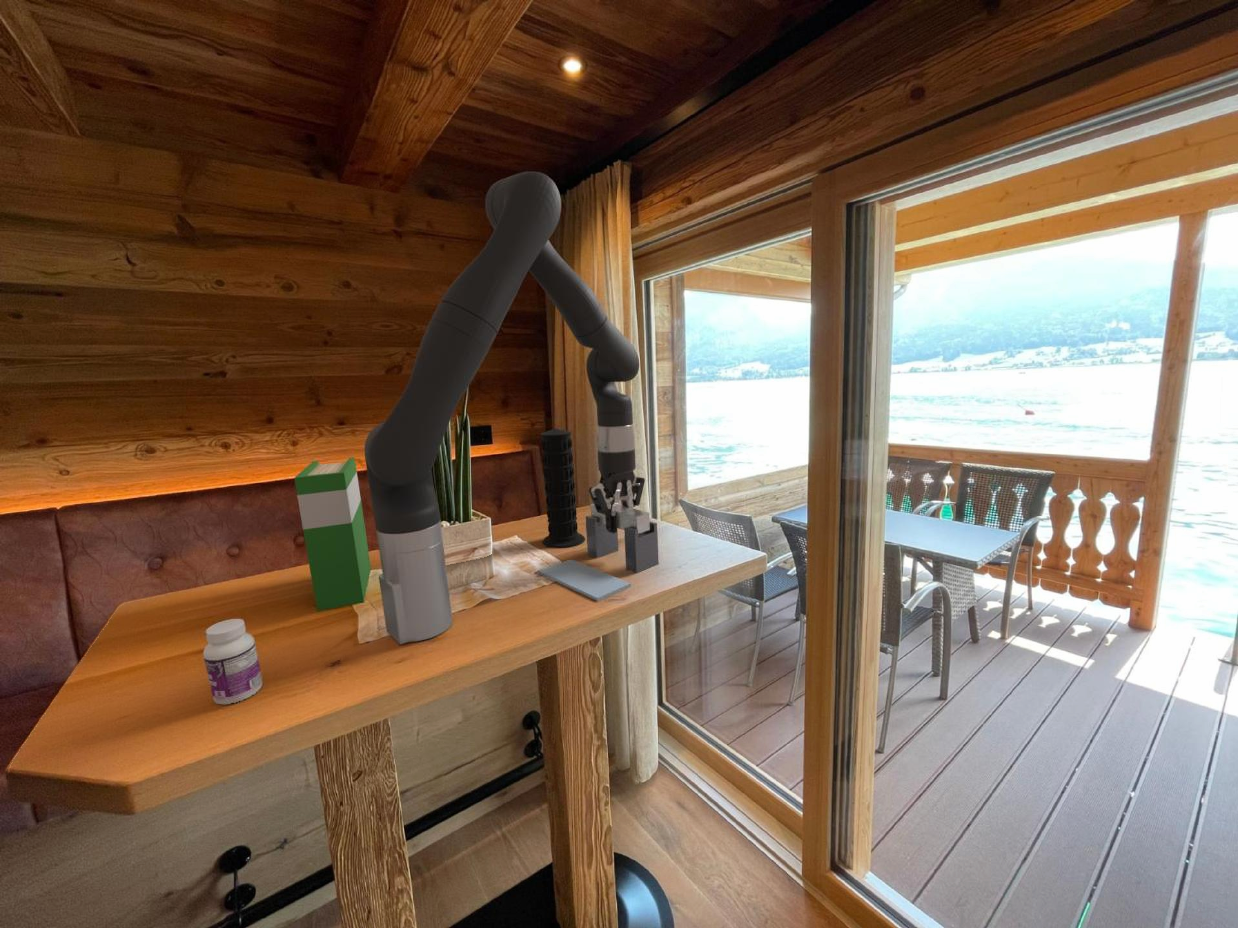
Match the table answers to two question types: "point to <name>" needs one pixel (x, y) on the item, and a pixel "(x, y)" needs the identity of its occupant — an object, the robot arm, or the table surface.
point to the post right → (641, 548)
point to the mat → (585, 579)
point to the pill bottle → (231, 662)
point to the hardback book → (334, 533)
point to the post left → (599, 538)
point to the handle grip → (560, 490)
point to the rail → (626, 518)
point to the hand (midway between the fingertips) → (619, 529)
